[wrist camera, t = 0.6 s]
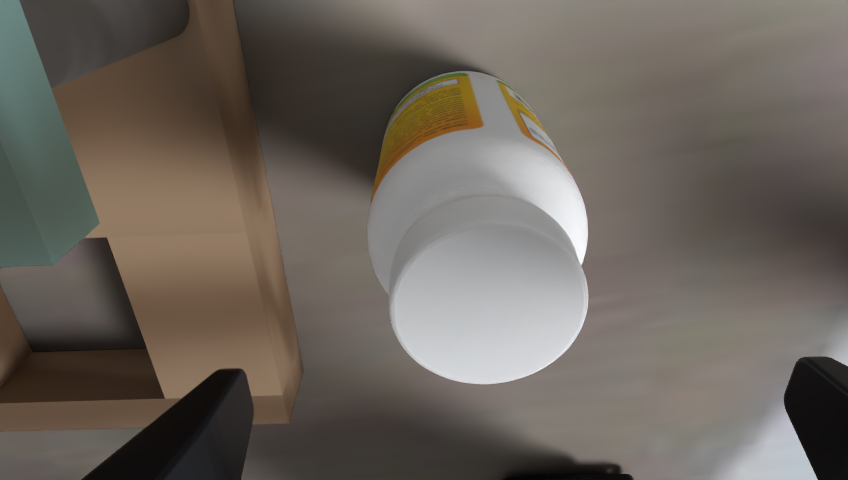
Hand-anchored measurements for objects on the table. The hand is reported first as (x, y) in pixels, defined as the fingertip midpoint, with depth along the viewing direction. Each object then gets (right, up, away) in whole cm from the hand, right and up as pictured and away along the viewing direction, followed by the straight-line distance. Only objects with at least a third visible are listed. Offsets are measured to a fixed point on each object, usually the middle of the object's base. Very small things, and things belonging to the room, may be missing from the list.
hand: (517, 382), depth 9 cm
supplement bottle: (0, +6, +11) cm, 12 cm away
